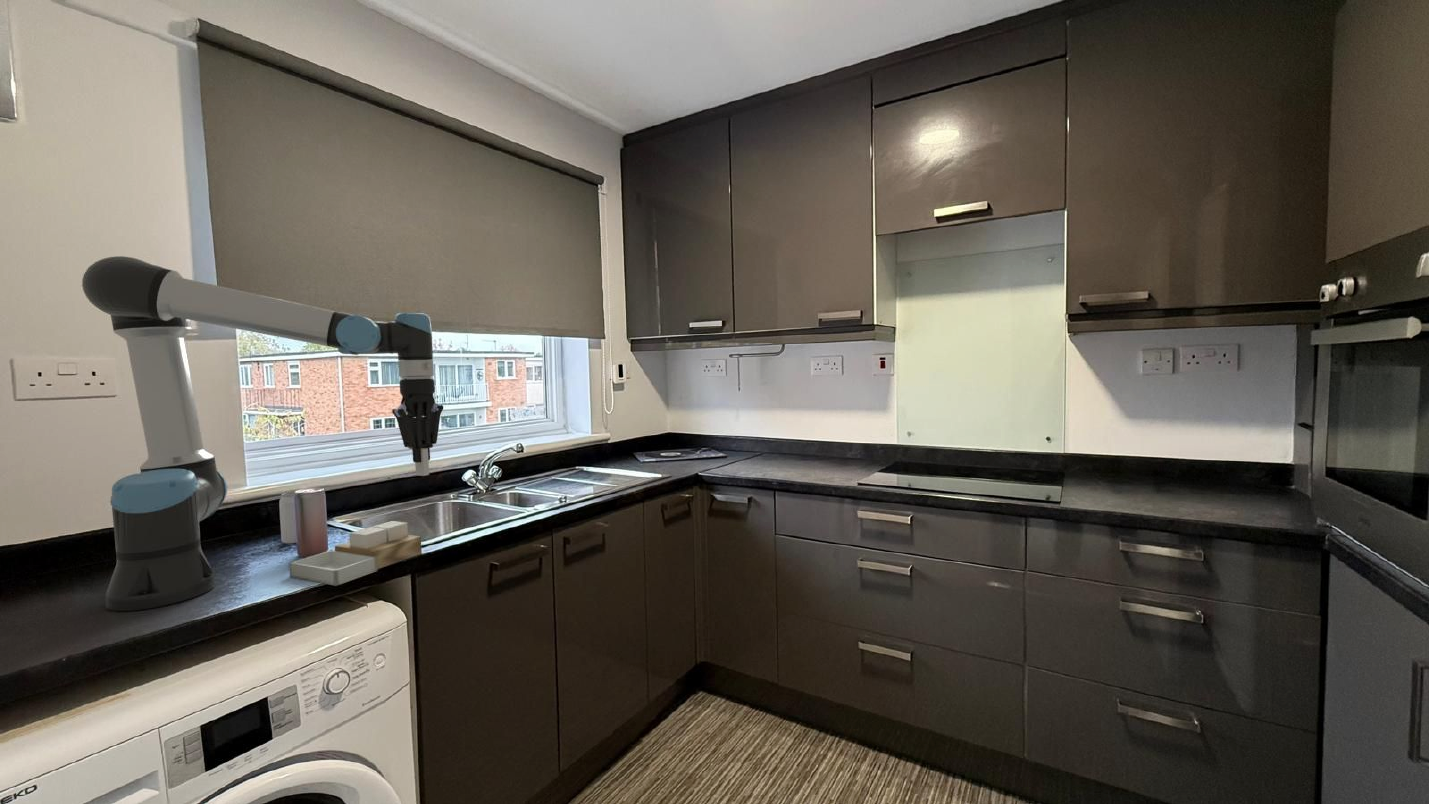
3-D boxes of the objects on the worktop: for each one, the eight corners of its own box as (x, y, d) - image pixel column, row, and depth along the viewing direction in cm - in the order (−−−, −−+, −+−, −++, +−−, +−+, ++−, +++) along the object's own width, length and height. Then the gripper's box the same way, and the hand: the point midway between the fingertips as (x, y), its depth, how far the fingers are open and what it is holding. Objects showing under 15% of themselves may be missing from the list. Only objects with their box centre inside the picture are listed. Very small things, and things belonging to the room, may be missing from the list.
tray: (336, 585, 115) (335, 571, 115) (289, 577, 120) (289, 562, 120) (377, 570, 124) (376, 557, 123) (332, 563, 129) (331, 550, 129)
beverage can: (291, 556, 134) (287, 492, 133) (317, 548, 140) (313, 487, 139) (308, 559, 132) (304, 493, 131) (334, 551, 137) (330, 488, 136)
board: (374, 570, 124) (373, 551, 124) (335, 563, 128) (334, 546, 128) (421, 553, 135) (420, 536, 135) (384, 548, 140) (383, 531, 139)
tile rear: (388, 541, 131) (388, 528, 131) (373, 539, 133) (372, 526, 133) (407, 535, 136) (407, 522, 135) (392, 533, 138) (391, 520, 137)
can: (296, 545, 143) (293, 496, 142) (274, 543, 144) (272, 495, 144) (319, 537, 149) (316, 491, 149) (298, 536, 151) (295, 490, 150)
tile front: (366, 548, 126) (365, 535, 126) (350, 546, 128) (349, 532, 128) (386, 542, 131) (386, 528, 130) (371, 540, 132) (370, 527, 132)
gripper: (404, 378, 133) (410, 481, 135) (450, 377, 145) (455, 471, 147) (381, 379, 136) (387, 479, 137) (427, 377, 148) (433, 469, 149)
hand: (422, 475), depth 142 cm, fingers closed
